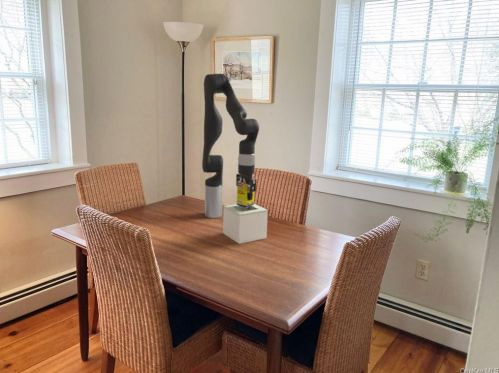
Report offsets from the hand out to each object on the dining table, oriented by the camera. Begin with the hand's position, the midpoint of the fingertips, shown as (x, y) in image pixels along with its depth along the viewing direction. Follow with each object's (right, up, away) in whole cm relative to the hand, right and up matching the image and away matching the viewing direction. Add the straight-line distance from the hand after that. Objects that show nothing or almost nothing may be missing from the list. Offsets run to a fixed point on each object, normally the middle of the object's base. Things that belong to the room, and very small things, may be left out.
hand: (245, 198), depth 191 cm
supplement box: (0, -3, +1) cm, 4 cm away
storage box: (0, -18, +4) cm, 19 cm away
